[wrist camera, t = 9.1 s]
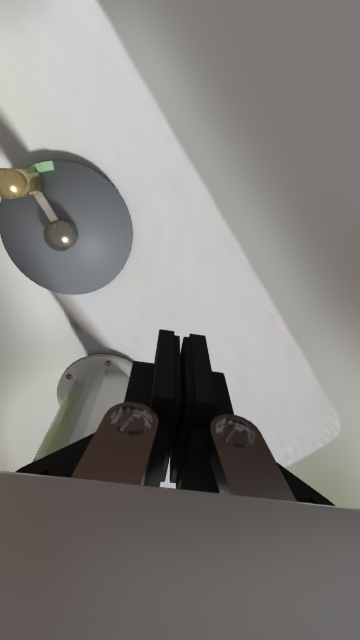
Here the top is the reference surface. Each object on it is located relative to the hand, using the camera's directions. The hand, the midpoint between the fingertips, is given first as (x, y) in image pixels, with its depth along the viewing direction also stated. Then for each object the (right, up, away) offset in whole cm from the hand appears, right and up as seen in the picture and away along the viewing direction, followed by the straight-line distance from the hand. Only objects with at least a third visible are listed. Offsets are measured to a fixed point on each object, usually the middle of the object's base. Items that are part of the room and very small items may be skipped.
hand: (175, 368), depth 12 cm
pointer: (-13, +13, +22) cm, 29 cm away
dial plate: (-12, +12, +24) cm, 30 cm away
